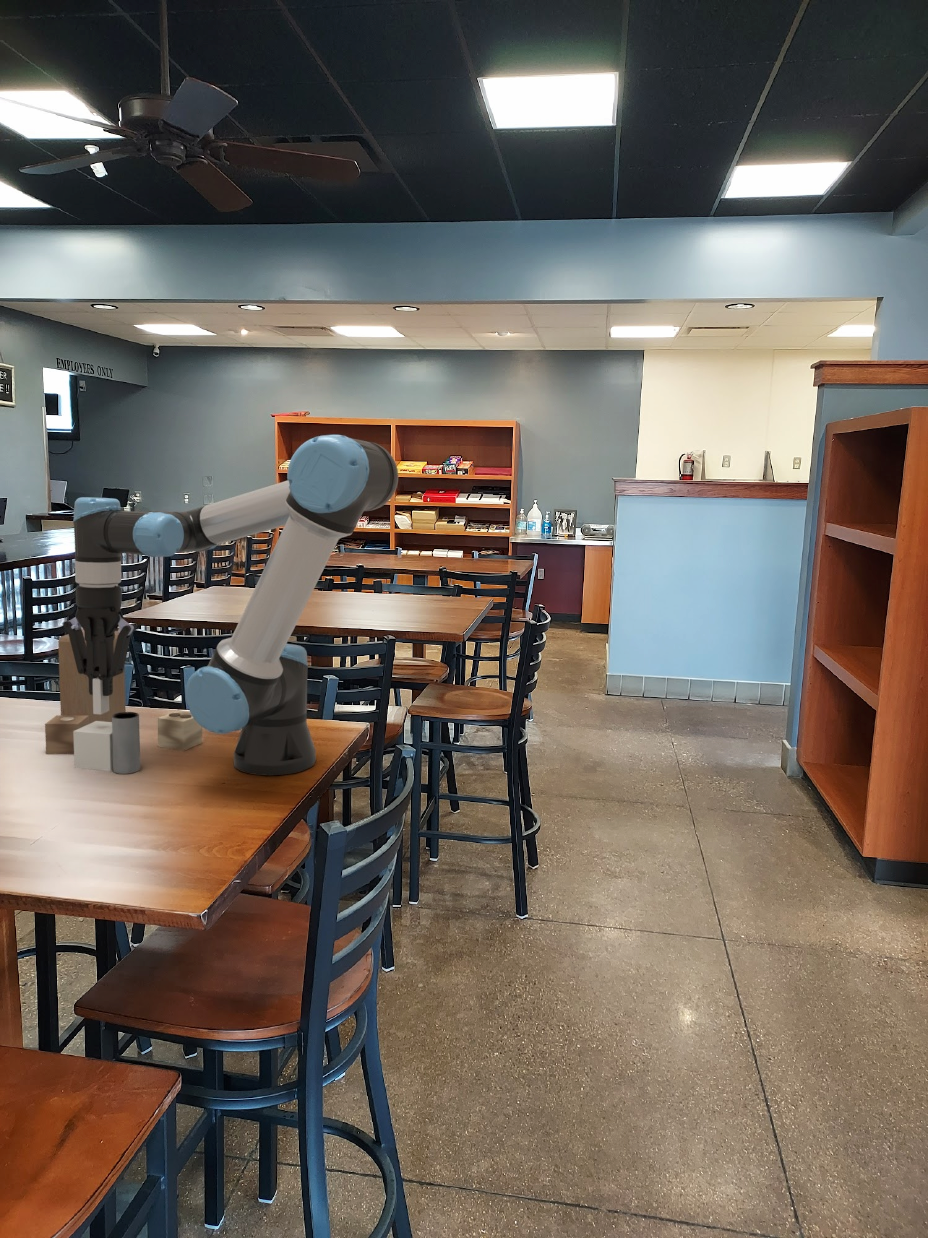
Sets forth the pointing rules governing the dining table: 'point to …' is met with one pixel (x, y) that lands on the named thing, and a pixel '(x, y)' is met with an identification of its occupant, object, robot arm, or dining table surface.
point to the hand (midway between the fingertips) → (101, 712)
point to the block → (85, 687)
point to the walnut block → (63, 733)
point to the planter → (126, 742)
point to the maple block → (178, 731)
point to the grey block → (94, 746)
